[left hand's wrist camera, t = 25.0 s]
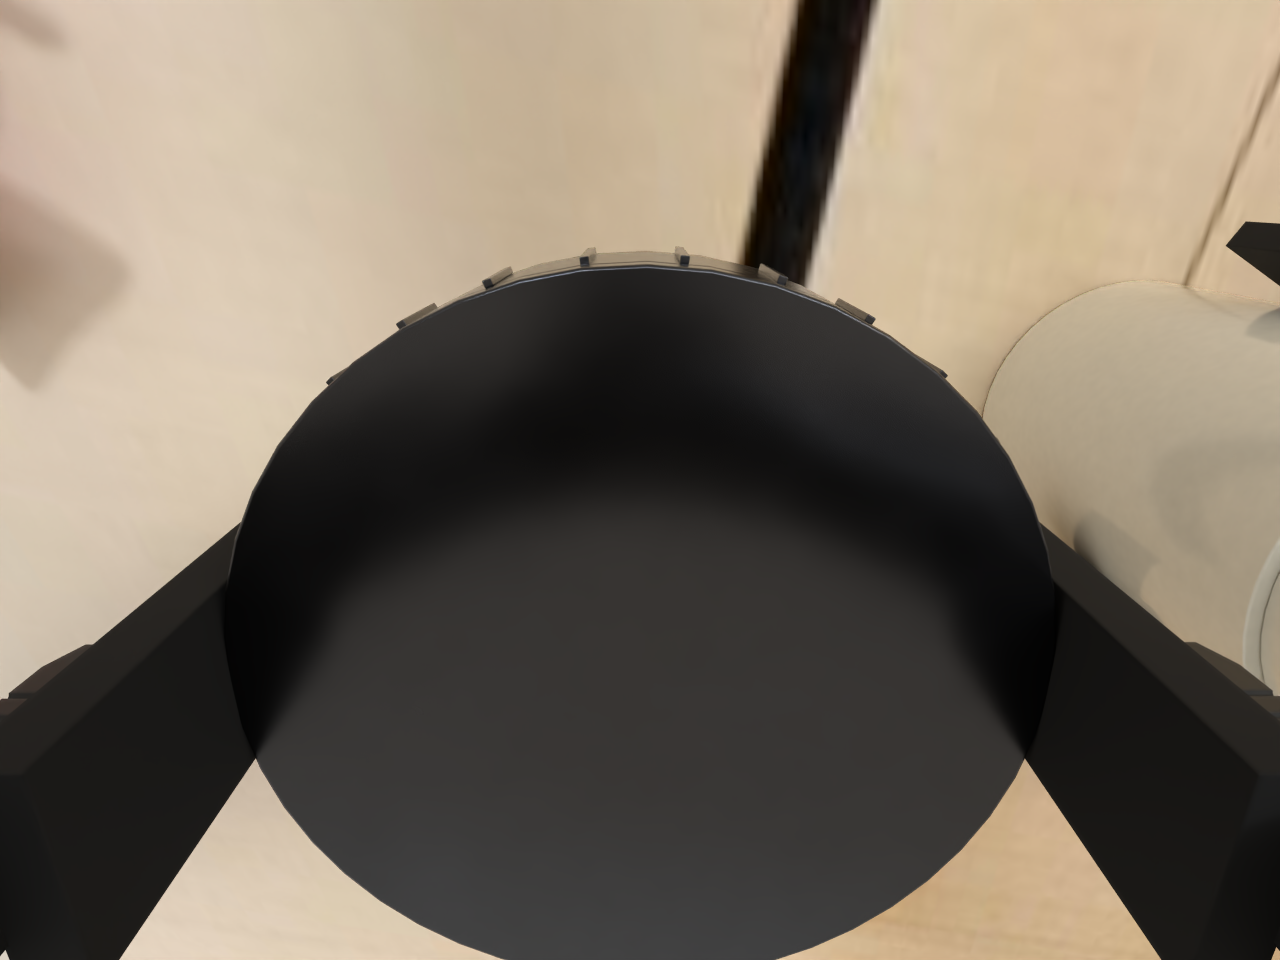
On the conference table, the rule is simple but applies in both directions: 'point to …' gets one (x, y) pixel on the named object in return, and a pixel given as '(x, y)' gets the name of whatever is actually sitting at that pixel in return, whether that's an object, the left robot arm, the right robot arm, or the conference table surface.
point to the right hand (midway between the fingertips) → (1130, 403)
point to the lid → (640, 615)
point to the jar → (1159, 453)
